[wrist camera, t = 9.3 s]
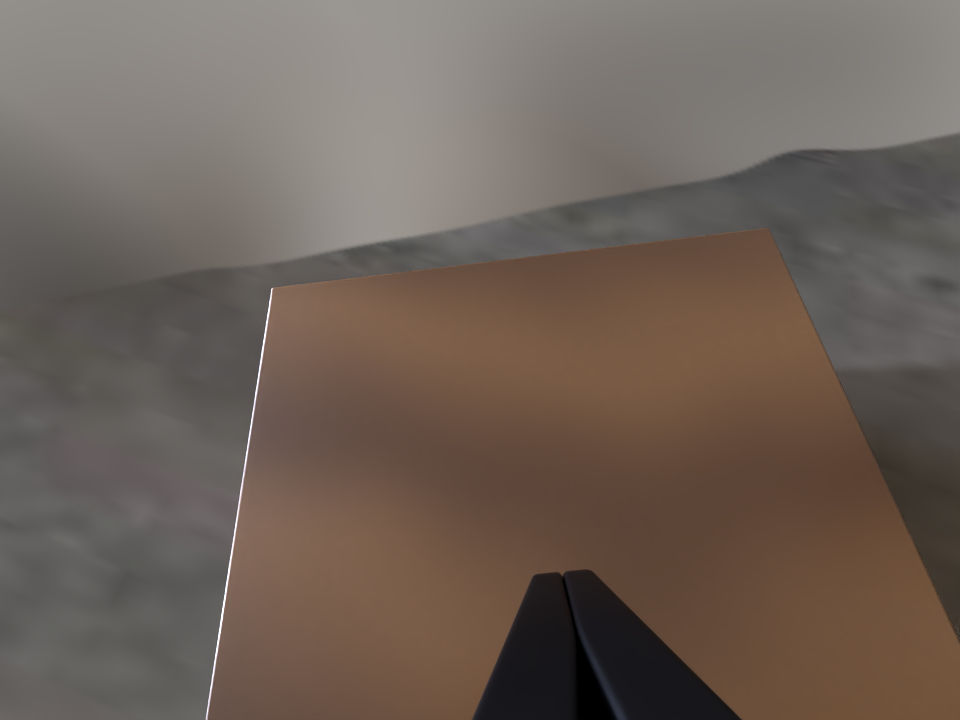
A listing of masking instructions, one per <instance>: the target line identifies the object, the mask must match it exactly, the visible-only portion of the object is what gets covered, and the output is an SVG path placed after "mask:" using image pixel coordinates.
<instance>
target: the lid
mask: <svg viewBox="0 0 960 720" xmlns="http://www.w3.org/2000/svg"><path fill="white" fill-rule="evenodd" d="M583 569H589V570H591V571H593V572H594V573H595V574H596V575H597V576H598V577H599V578H600V579H601V580H602V581H603V582H604V583H605V584H606V585H607V586H608V587H609V588H610V589H611V590H612V591H613V592H614V593H615V594H616V595H617V596H618V597H619V598H620V599H621V600H622V601H623V602H624V603H625V604H626V605H627V606H628V607H629V608H630V609H631V610H632V611H633V612H634V613H635V614H636V615H637V616H638V617H639V618H640V619H641V620H642V621H643V622H644V623H645V624H646V625H647V626H648V627H649V628H650V629H651V630H652V631H653V632H654V633H655V634H656V635H657V636H658V637H659V638H660V639H661V640H662V641H663V642H664V643H665V644H666V645H667V646H668V647H669V648H670V649H672V650H673V651H674V652H675V653H676V654H677V655H678V656H679V657H680V658H681V659H682V660H683V661H684V662H685V663H686V664H687V665H688V666H689V667H690V668H691V669H692V670H693V671H694V672H695V673H696V674H697V675H698V676H699V677H700V678H701V679H702V680H703V681H704V682H705V683H706V684H707V685H708V686H709V687H710V688H711V689H712V690H713V691H714V692H715V693H716V694H717V695H718V696H719V697H720V698H721V699H722V700H723V701H724V702H725V703H726V704H727V705H728V706H729V707H730V708H731V709H732V710H733V711H734V712H735V713H736V714H737V715H738V716H739V717H740V718H741V719H742V720H960V640H959V638H958V636H957V634H956V632H955V630H954V627H953V625H952V623H951V621H950V619H949V617H948V614H947V612H946V610H945V608H944V606H943V604H942V601H941V599H940V597H939V595H938V593H937V591H936V588H935V586H934V584H933V582H932V580H931V578H930V575H929V573H928V571H927V569H926V567H925V565H924V562H923V560H922V558H921V556H920V554H919V552H918V549H917V547H916V545H915V543H914V541H913V539H912V537H911V534H910V532H909V530H908V528H907V526H906V524H905V521H904V519H903V517H902V515H901V513H900V511H899V508H898V506H897V504H896V502H895V500H894V498H893V495H892V493H891V491H890V489H889V487H888V485H887V482H886V480H885V478H884V476H883V474H882V472H881V469H880V467H879V465H878V463H877V461H876V459H875V456H874V454H873V452H872V450H871V448H870V446H869V443H868V441H867V439H866V437H865V435H864V433H863V430H862V428H861V426H860V424H859V422H858V420H857V417H856V415H855V413H854V411H853V409H852V407H851V404H850V402H849V400H848V398H847V396H846V394H845V392H844V389H843V387H842V385H841V383H840V381H839V379H838V376H837V374H836V372H835V370H834V368H833V366H832V363H831V361H830V359H829V357H828V355H827V353H826V350H825V348H824V346H823V344H822V342H821V340H820V337H819V335H818V333H817V331H816V329H815V327H814V324H813V322H812V320H811V318H810V316H809V314H808V311H807V309H806V307H805V305H804V303H803V301H802V298H801V296H800V294H799V292H798V290H797V288H796V285H795V283H794V281H793V279H792V277H791V275H790V272H789V270H788V268H787V266H786V264H785V262H784V259H783V257H782V255H781V253H780V251H779V249H778V247H777V244H776V242H775V240H774V238H773V236H772V234H771V231H770V229H769V228H763V229H754V230H746V231H738V232H730V233H721V234H713V235H705V236H697V237H688V238H680V239H672V240H664V241H655V242H647V243H639V244H631V245H622V246H614V247H606V248H598V249H589V250H581V251H573V252H565V253H556V254H548V255H540V256H532V257H523V258H515V259H507V260H499V261H490V262H482V263H474V264H466V265H457V266H449V267H441V268H433V269H424V270H416V271H408V272H400V273H391V274H383V275H375V276H367V277H358V278H350V279H342V280H334V281H326V282H317V283H309V284H301V285H293V286H284V287H276V288H272V290H271V296H270V303H269V310H268V316H267V323H266V329H265V336H264V342H263V349H262V355H261V362H260V368H259V375H258V381H257V388H256V394H255V401H254V407H253V414H252V420H251V427H250V434H249V440H248V447H247V453H246V460H245V466H244V473H243V479H242V486H241V492H240V499H239V505H238V512H237V518H236V525H235V531H234V538H233V544H232V551H231V558H230V564H229V571H228V577H227V584H226V590H225V597H224V603H223V610H222V616H221V623H220V629H219V636H218V642H217V649H216V655H215V662H214V669H213V675H212V682H211V688H210V695H209V701H208V708H207V714H206V720H472V718H473V716H474V713H475V711H476V708H477V706H478V704H479V701H480V699H481V697H482V694H483V692H484V690H485V687H486V685H487V683H488V680H489V678H490V675H491V673H492V671H493V668H494V666H495V664H496V661H497V659H498V657H499V654H500V652H501V650H502V647H503V645H504V642H505V640H506V638H507V635H508V633H509V631H510V628H511V626H512V624H513V621H514V619H515V617H516V614H517V612H518V609H519V607H520V605H521V602H522V600H523V598H524V595H525V593H526V591H527V588H528V586H529V584H530V581H531V579H532V577H533V576H534V575H535V574H541V573H552V572H559V573H560V574H561V575H562V577H563V573H564V572H566V571H573V570H583Z"/></svg>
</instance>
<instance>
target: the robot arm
mask: <svg viewBox="0 0 960 720" xmlns="http://www.w3.org/2000/svg"><path fill="white" fill-rule="evenodd" d="M472 720H742V719H741V718H740V717H739V716H738V715H737V714H736V713H735V712H734V711H733V710H732V709H731V708H730V707H729V706H728V705H727V704H726V703H725V702H724V701H723V700H722V699H721V698H720V697H719V696H718V695H717V694H716V693H715V692H714V691H713V690H712V689H711V688H710V687H709V686H708V685H707V684H706V683H705V682H704V681H703V680H702V679H701V678H700V677H699V676H698V675H697V674H696V673H695V672H694V671H693V670H692V669H691V668H690V667H689V666H688V665H687V664H686V663H685V662H684V661H683V660H682V659H681V658H680V657H679V656H678V655H677V654H676V653H675V652H674V651H673V650H672V649H670V648H669V647H668V646H667V645H666V644H665V643H664V642H663V641H662V640H661V639H660V638H659V637H658V636H657V635H656V634H655V633H654V632H653V631H652V630H651V629H650V628H649V627H648V626H647V625H646V624H645V623H644V622H643V621H642V620H641V619H640V618H639V617H638V616H637V615H636V614H635V613H634V612H633V611H632V610H631V609H630V608H629V607H628V606H627V605H626V604H625V603H624V602H623V601H622V600H621V599H620V598H619V597H618V596H617V595H616V594H615V593H614V592H613V591H612V590H611V589H610V588H609V587H608V586H607V585H606V584H605V583H604V582H603V581H602V580H601V579H600V578H599V577H598V576H597V575H596V574H595V573H594V572H593V571H591V570H589V569H583V570H573V571H566V572H564V573H563V577H562V575H561V574H560V573H559V572H552V573H541V574H535V575H534V576H533V577H532V579H531V581H530V584H529V586H528V588H527V591H526V593H525V595H524V598H523V600H522V602H521V605H520V607H519V609H518V612H517V614H516V617H515V619H514V621H513V624H512V626H511V628H510V631H509V633H508V635H507V638H506V640H505V642H504V645H503V647H502V650H501V652H500V654H499V657H498V659H497V661H496V664H495V666H494V668H493V671H492V673H491V675H490V678H489V680H488V683H487V685H486V687H485V690H484V692H483V694H482V697H481V699H480V701H479V704H478V706H477V708H476V711H475V713H474V716H473V718H472Z"/></svg>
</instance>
